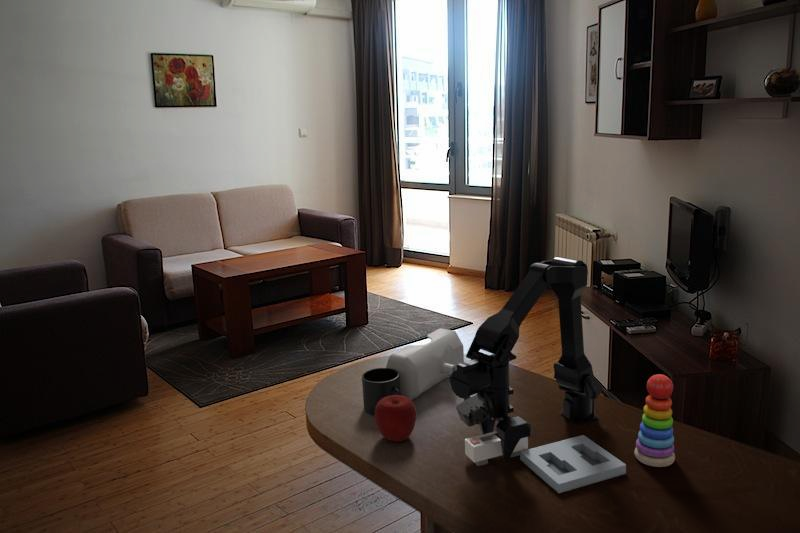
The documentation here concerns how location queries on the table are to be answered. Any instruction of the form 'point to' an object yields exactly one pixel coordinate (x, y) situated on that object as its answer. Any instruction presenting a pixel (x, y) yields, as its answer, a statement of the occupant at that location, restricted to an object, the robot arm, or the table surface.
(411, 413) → the apple
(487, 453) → the power strip
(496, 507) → the table surface
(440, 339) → the tank
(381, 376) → the mug
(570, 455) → the keyhole board
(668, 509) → the table surface
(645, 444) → the stacking toy
